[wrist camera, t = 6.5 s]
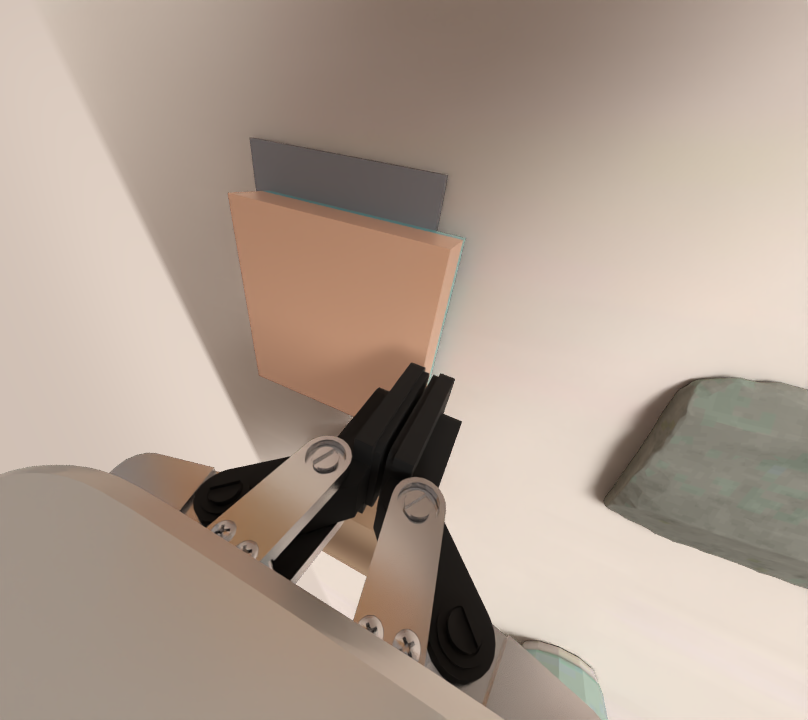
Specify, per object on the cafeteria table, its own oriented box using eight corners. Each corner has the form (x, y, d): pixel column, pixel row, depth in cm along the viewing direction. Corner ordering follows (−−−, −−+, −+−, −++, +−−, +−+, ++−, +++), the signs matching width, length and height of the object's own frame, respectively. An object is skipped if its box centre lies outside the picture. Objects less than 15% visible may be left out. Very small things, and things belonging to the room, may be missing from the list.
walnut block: (352, 422, 22) (297, 490, 17) (429, 456, 20) (393, 541, 15) (349, 471, 25) (303, 539, 20) (415, 503, 24) (381, 584, 19)
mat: (254, 137, 14) (249, 137, 14) (447, 175, 12) (445, 175, 11) (281, 373, 22) (278, 375, 22) (399, 422, 20) (397, 425, 19)
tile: (465, 238, 12) (269, 190, 15) (450, 249, 10) (227, 192, 13) (422, 411, 18) (286, 357, 20) (407, 439, 16) (258, 375, 18)
